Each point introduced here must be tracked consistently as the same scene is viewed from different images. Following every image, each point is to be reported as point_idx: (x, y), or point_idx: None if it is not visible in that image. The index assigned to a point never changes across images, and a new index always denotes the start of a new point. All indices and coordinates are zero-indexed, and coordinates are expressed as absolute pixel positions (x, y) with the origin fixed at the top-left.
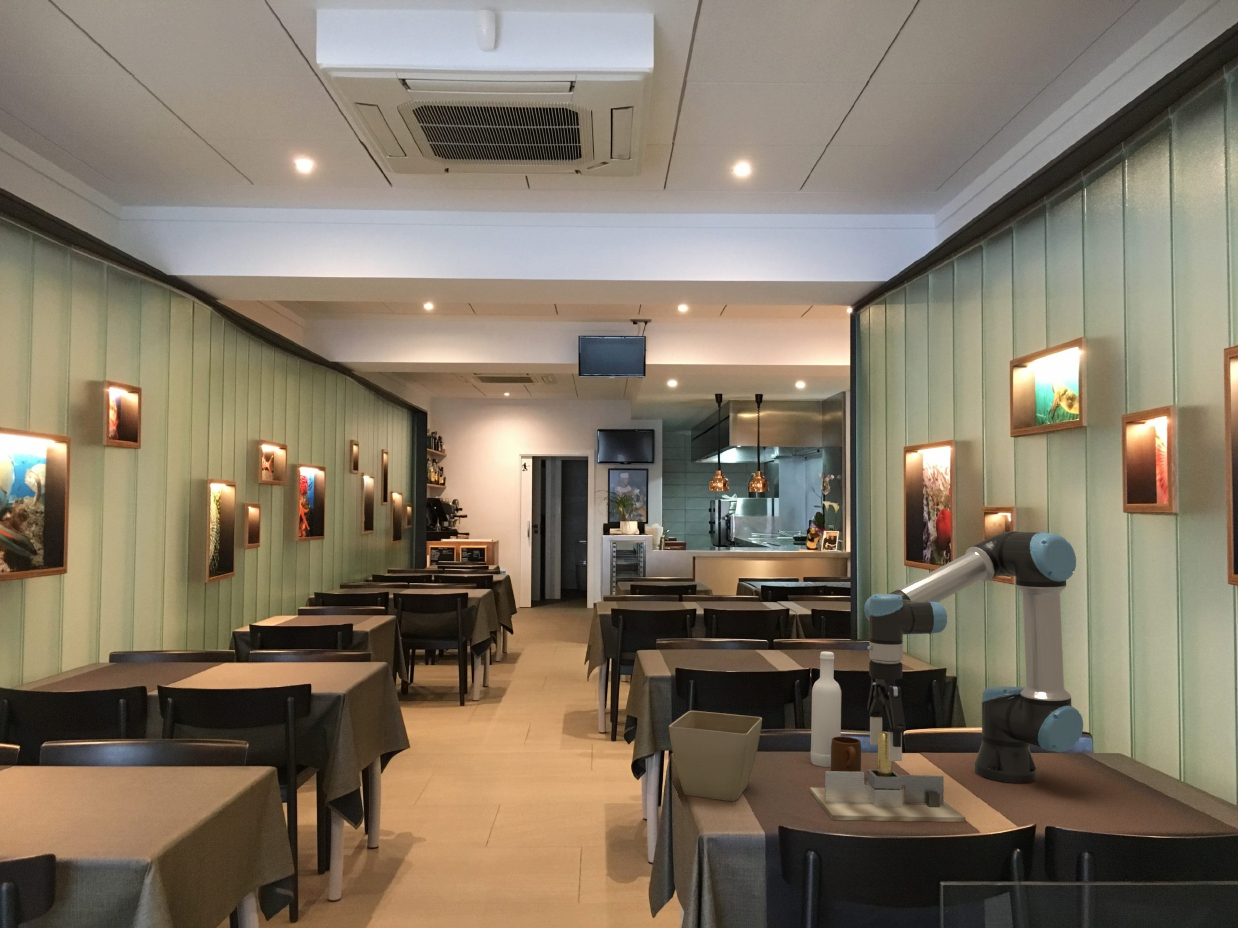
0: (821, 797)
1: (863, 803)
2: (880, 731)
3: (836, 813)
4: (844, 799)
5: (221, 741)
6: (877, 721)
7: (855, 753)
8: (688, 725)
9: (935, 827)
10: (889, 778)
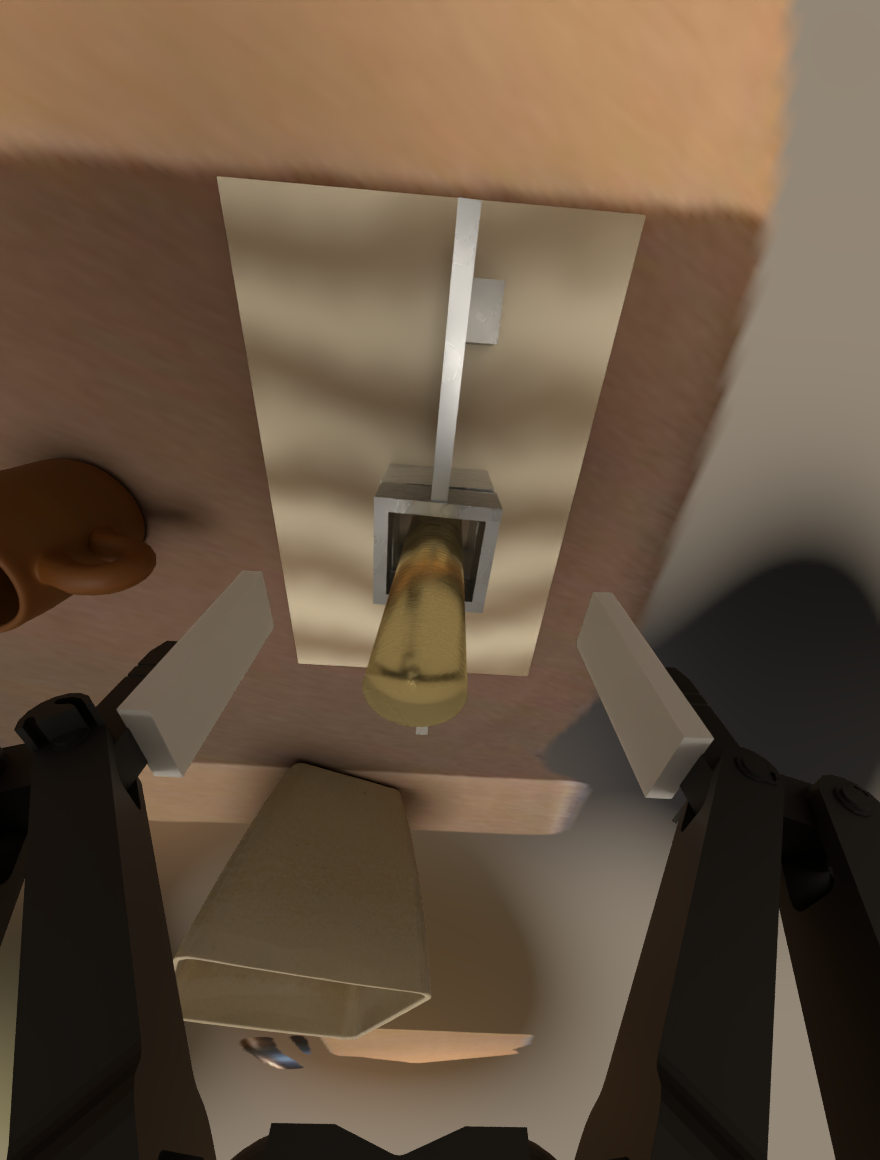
0: None
1: None
2: (224, 633)
3: (515, 664)
4: None
5: (242, 1041)
6: (186, 710)
7: (121, 570)
8: (207, 970)
9: (652, 409)
10: (492, 557)
